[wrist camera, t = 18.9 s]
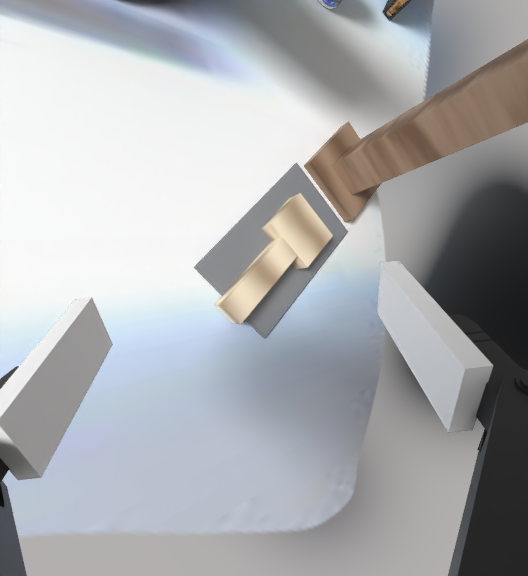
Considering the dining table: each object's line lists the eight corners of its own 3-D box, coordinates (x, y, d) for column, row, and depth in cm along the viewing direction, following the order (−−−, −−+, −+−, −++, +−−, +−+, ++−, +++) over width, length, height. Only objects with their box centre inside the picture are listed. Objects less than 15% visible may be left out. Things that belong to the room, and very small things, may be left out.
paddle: (243, 334, 39) (253, 336, 37) (201, 292, 37) (209, 291, 34) (320, 239, 45) (333, 235, 43) (289, 198, 43) (300, 192, 41)
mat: (263, 338, 41) (264, 338, 40) (193, 267, 37) (194, 266, 36) (345, 231, 48) (347, 231, 48) (295, 163, 44) (296, 162, 44)
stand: (345, 222, 48) (663, 119, 22) (303, 165, 45) (616, -33, 19) (377, 181, 52) (682, 52, 26) (341, 126, 49) (645, -84, 23)
